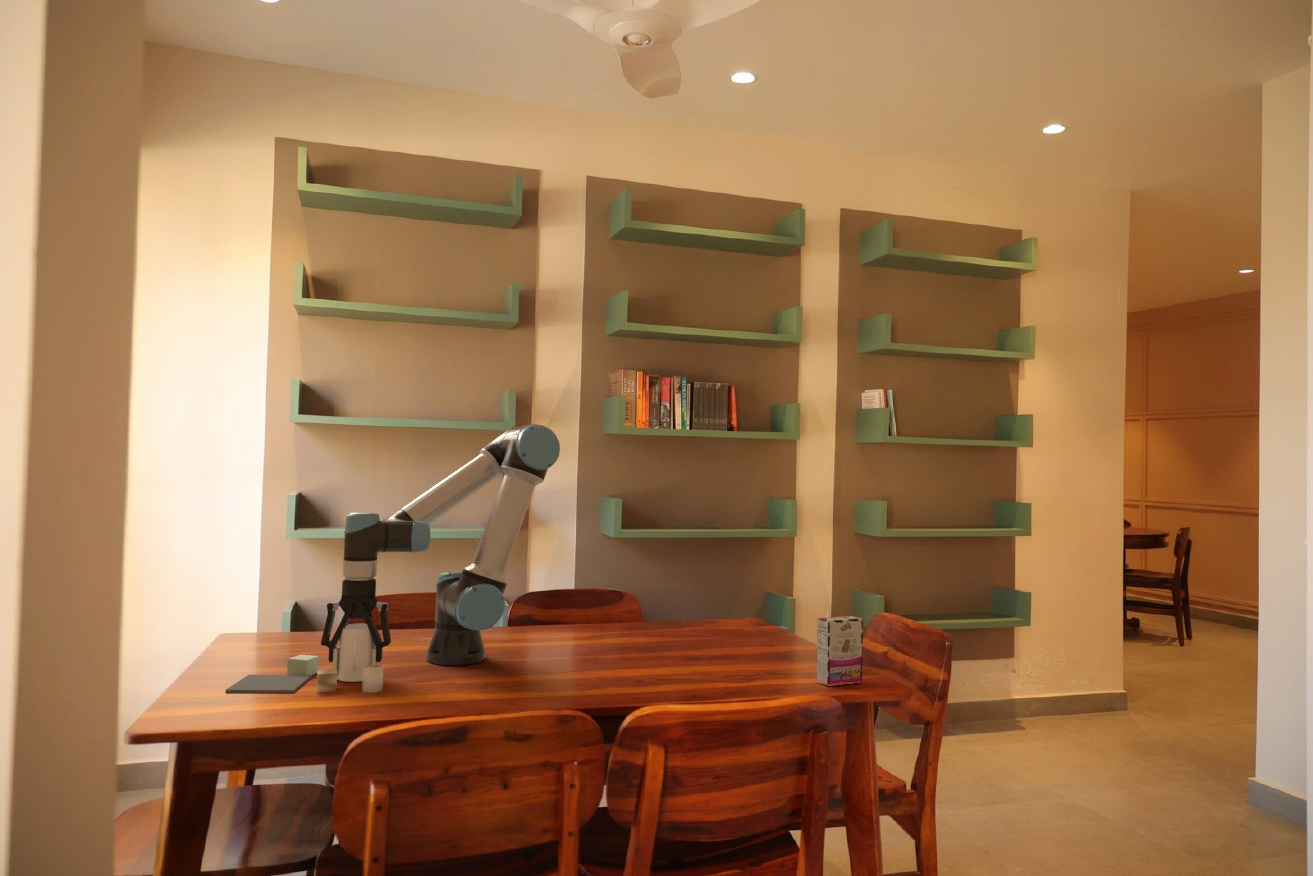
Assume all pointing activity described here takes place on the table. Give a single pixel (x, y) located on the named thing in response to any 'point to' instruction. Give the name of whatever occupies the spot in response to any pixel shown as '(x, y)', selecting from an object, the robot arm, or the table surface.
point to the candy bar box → (839, 649)
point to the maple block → (326, 680)
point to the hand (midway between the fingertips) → (354, 676)
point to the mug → (354, 652)
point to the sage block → (303, 665)
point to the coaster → (269, 684)
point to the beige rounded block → (372, 679)
